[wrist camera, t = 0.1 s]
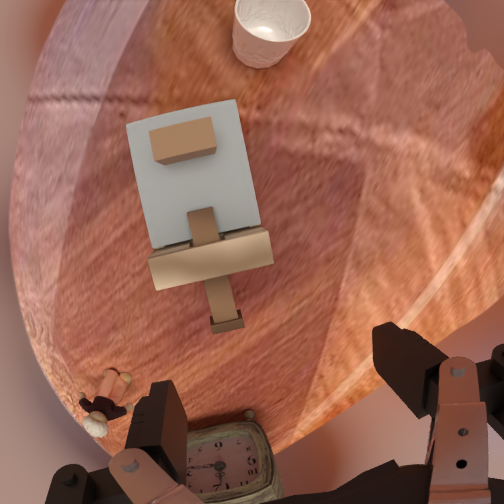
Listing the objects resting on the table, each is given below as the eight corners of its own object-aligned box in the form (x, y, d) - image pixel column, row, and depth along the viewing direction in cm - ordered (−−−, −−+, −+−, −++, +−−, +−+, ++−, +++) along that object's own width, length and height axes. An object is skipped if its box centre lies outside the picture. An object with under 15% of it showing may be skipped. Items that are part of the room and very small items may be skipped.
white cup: (251, 83, 36) (266, 54, 26) (215, 40, 34) (219, 2, 24) (299, 55, 36) (325, 24, 26) (264, 14, 34) (280, -25, 24)
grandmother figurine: (136, 367, 41) (118, 424, 29) (140, 388, 42) (125, 447, 30) (88, 364, 40) (59, 417, 28) (93, 385, 41) (69, 439, 29)
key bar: (184, 212, 30) (182, 214, 28) (216, 205, 31) (217, 206, 28) (212, 324, 33) (213, 334, 31) (241, 317, 33) (244, 327, 31)
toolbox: (141, 135, 35) (116, 117, 24) (229, 115, 36) (238, 89, 25) (169, 261, 39) (156, 290, 28) (255, 241, 40) (274, 263, 29)
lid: (128, 126, 29) (108, 111, 22) (234, 101, 30) (242, 80, 23) (154, 246, 31) (140, 263, 25) (259, 222, 32) (273, 232, 26)
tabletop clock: (258, 400, 45) (297, 536, 21) (269, 436, 47) (306, 558, 23) (169, 419, 44) (160, 555, 20) (188, 454, 46) (191, 576, 22)
